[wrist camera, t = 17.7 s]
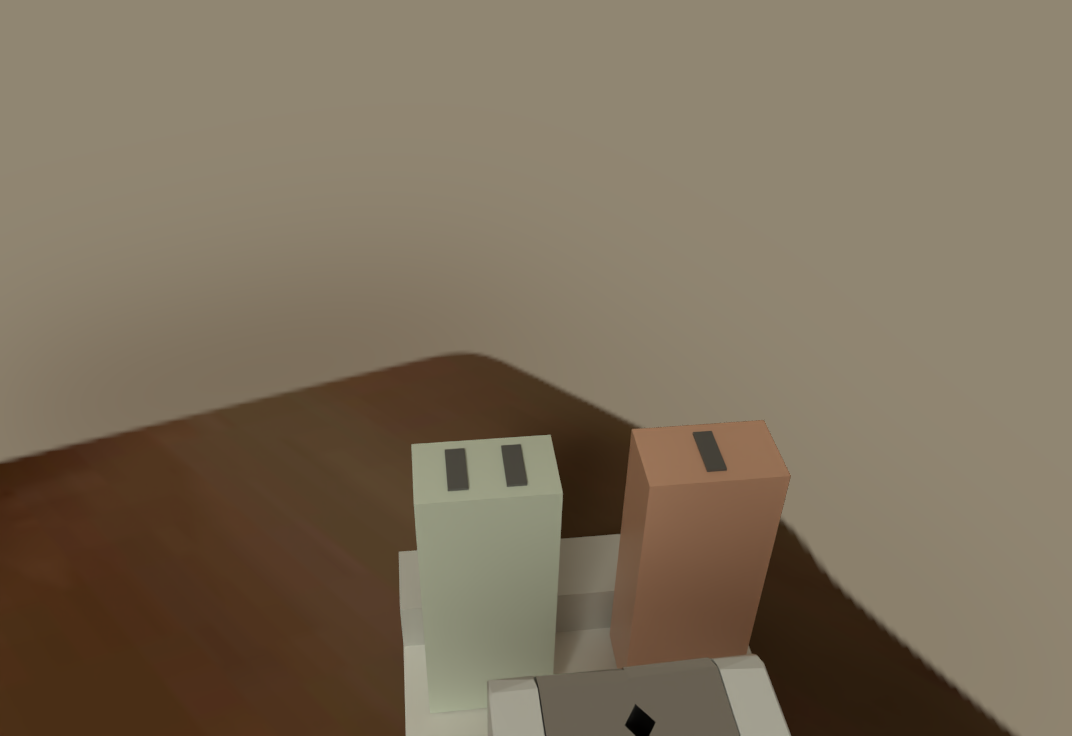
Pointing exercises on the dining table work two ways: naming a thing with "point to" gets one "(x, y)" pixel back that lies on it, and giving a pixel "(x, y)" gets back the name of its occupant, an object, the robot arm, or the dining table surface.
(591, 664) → the tile board
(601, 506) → the dining table surface
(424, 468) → the pale green tall block
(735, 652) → the orange-brown upright block
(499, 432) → the dining table surface
